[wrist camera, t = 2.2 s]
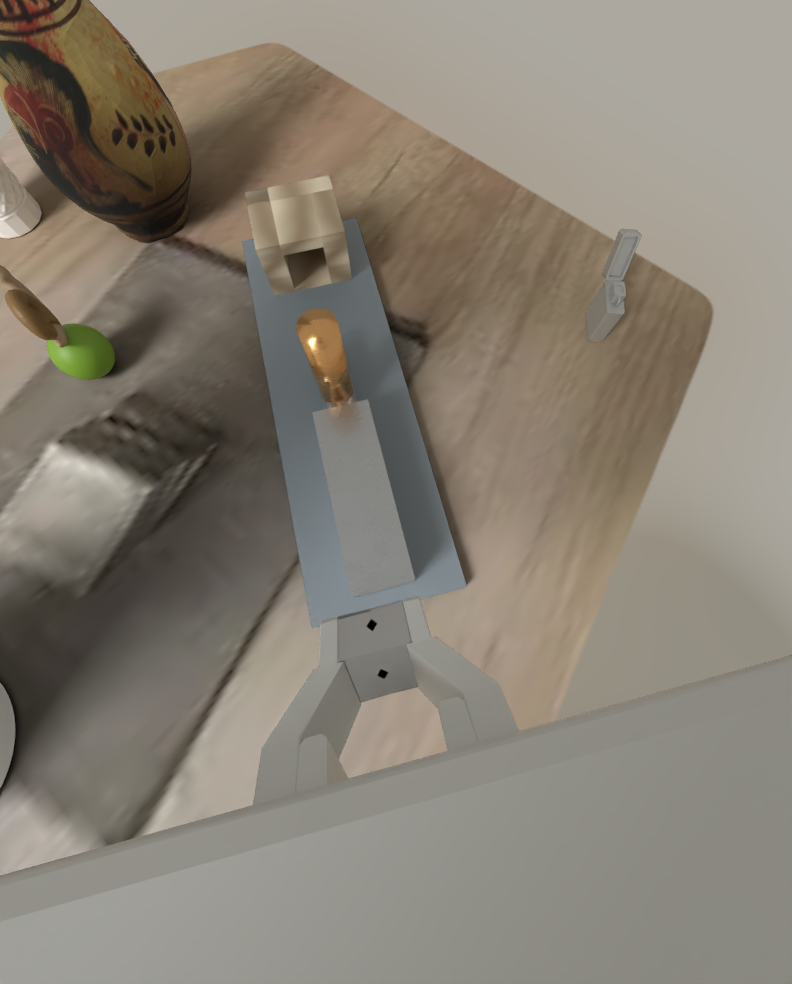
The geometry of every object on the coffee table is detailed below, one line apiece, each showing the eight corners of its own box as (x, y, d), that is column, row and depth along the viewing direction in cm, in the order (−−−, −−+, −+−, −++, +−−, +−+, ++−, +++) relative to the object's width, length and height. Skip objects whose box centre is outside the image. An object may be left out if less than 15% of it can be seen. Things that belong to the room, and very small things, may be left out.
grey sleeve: (358, 597, 33) (351, 596, 28) (323, 436, 38) (312, 412, 33) (413, 583, 34) (415, 579, 29) (372, 424, 38) (367, 399, 33)
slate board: (314, 627, 34) (311, 628, 33) (246, 250, 46) (242, 241, 45) (464, 587, 35) (467, 586, 33) (357, 227, 47) (356, 217, 46)
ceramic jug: (239, 192, 49) (8, -390, 20) (165, 276, 45) (-245, -290, 17) (137, 150, 52) (-196, -419, 23) (59, 227, 48) (-457, -339, 19)
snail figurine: (112, 333, 43) (6, 234, 32) (134, 373, 42) (32, 284, 30) (67, 356, 42) (-58, 264, 31) (88, 398, 41) (-35, 317, 29)
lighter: (603, 342, 42) (648, 283, 34) (587, 341, 42) (628, 282, 34) (599, 290, 44) (641, 224, 36) (584, 289, 44) (623, 223, 36)
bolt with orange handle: (365, 583, 33) (346, 573, 22) (314, 358, 39) (281, 266, 29) (400, 573, 33) (400, 559, 22) (344, 351, 39) (322, 257, 29)
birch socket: (274, 295, 43) (255, 249, 37) (264, 243, 45) (244, 192, 39) (352, 279, 43) (344, 231, 38) (337, 227, 45) (328, 175, 40)
